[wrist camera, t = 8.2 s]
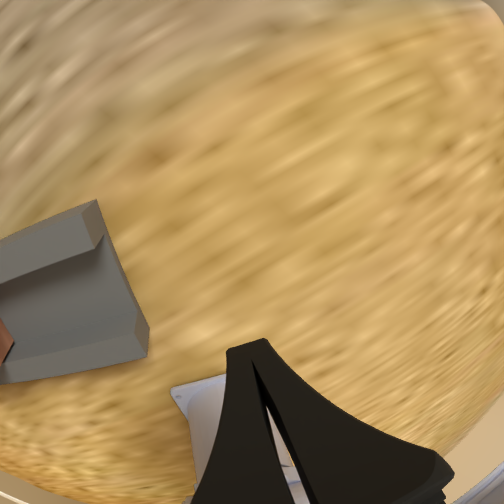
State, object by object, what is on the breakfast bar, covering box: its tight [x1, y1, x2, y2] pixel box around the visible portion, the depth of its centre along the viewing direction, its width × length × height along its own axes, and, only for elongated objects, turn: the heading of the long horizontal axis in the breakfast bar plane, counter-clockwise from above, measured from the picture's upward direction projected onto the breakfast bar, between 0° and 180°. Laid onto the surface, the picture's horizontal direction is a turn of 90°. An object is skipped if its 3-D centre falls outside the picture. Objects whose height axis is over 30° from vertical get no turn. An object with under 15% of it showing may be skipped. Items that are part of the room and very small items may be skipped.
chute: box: [0, 200, 149, 385], centre depth 16 cm, size 10×18×3 cm, turn 103°
